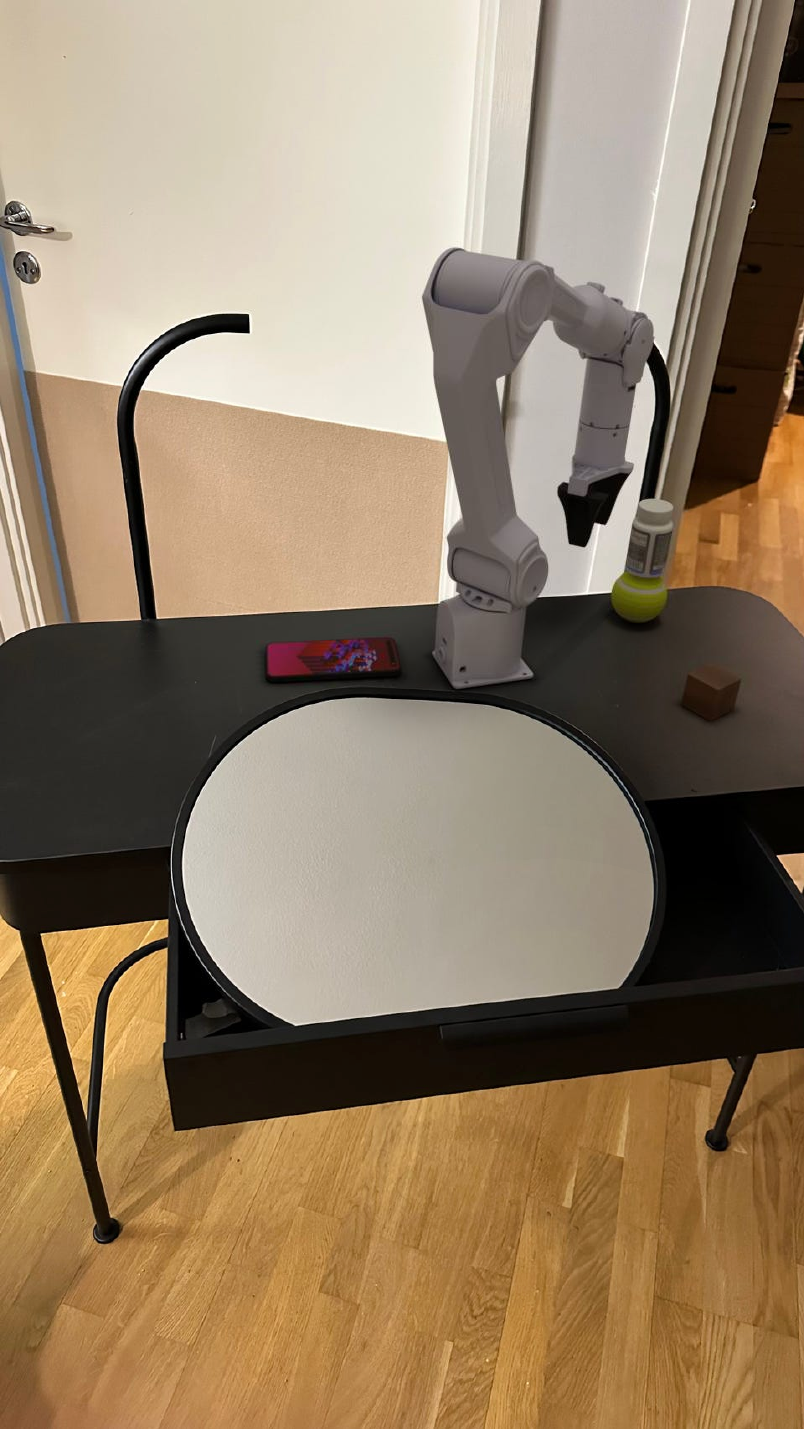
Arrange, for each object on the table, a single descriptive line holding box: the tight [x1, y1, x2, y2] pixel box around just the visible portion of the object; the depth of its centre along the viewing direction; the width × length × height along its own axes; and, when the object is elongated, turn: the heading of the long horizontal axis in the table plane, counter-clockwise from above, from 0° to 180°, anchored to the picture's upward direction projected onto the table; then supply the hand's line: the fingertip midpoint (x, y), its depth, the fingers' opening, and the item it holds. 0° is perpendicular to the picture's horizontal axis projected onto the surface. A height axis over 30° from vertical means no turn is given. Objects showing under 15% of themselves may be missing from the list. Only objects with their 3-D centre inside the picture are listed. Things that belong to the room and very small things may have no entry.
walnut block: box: [680, 662, 742, 722], centre depth 105 cm, size 4×4×4 cm
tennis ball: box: [610, 570, 668, 624], centre depth 121 cm, size 7×7×7 cm
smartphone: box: [265, 636, 402, 683], centre depth 111 cm, size 8×1×15 cm
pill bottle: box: [624, 498, 674, 578], centre depth 116 cm, size 5×5×8 cm
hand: (588, 533), depth 118 cm, fingers open, 7 cm apart
